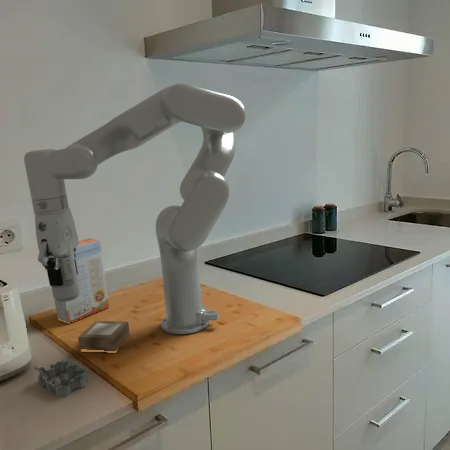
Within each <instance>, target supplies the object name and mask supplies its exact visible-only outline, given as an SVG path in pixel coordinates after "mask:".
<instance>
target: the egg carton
mask: <svg viewBox="0 0 450 450" xmlns="http://www.w3.org/2000/svg"><path fill="white" fill-rule="evenodd" d="M34 370H36V371H37V372H39V374H38V376H37V382H38V384H39V386H40V387H45V386H46V390H47V391H48V392H53V391H55V396H56V397H62V396H63V397H68V396H70V395H72V391H73V390H74V389H83V388H84V387H86V384H87V383H88V378H87V377H88V376H87V373H86V372H88V371H89V369H88V368H84V367H83V366H81V364H78V363H76V362H74V361H73V360H72V359H70V358H65V359H62V360H60V361H57V362H56V363H55V364H53V363H51V364H50V365H49V368H47V369H46V368H45V367H44V366H41V367H38V366H35V367H34ZM57 374H59V377H58V378H56V376H57ZM54 378H56V379H54ZM52 379H54V380H53V381H50V380H52ZM60 384H61V385H60Z"/></svg>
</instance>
